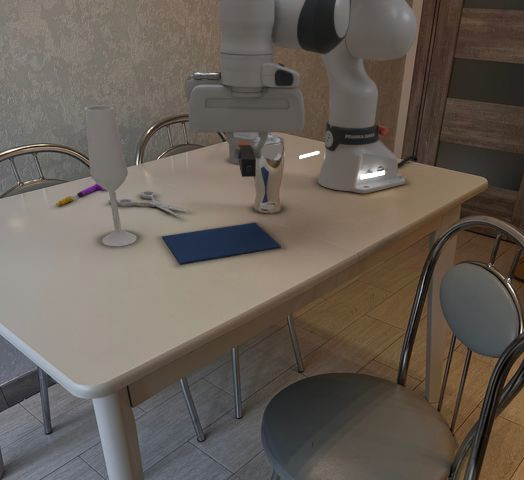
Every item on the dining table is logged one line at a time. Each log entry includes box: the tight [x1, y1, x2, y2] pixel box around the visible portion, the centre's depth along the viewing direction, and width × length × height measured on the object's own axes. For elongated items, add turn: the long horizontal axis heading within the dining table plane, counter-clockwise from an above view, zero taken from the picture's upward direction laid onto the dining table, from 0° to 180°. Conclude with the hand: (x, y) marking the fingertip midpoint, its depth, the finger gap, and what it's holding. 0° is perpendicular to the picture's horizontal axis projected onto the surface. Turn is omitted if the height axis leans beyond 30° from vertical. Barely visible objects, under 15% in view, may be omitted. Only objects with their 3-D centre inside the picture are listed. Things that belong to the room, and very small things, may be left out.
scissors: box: [108, 190, 190, 218], centre depth 120 cm, size 11×1×20 cm
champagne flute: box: [84, 104, 137, 247], centre depth 98 cm, size 7×7×24 cm
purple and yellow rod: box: [55, 183, 106, 206], centre depth 125 cm, size 3×1×16 cm
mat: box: [161, 222, 282, 265], centre depth 104 cm, size 20×13×1 cm, turn 113°
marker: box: [236, 141, 256, 178], centre depth 97 cm, size 14×3×3 cm, turn 6°
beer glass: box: [253, 135, 285, 214], centre depth 116 cm, size 7×7×15 cm
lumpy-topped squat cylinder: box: [228, 132, 272, 165], centre depth 151 cm, size 10×13×9 cm
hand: (246, 157), depth 97 cm, fingers closed on marker, 2 cm apart
